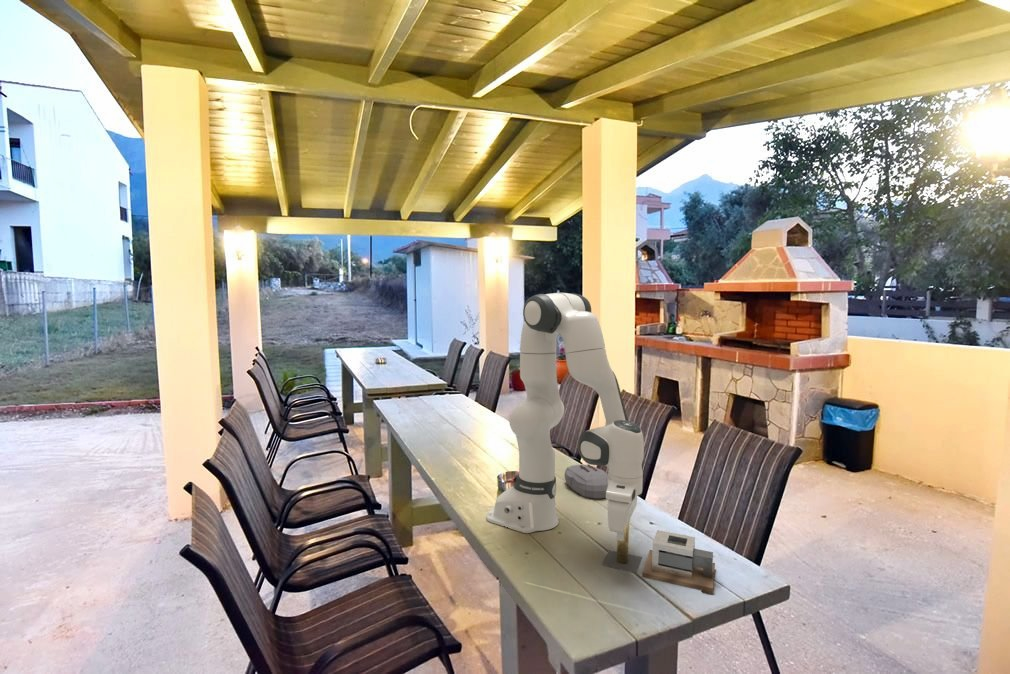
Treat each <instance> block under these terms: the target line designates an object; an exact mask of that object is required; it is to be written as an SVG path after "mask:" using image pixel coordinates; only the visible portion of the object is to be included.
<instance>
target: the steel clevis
mask: <svg viewBox="0 0 1010 674" xmlns="http://www.w3.org/2000/svg"><path fill="white" fill-rule="evenodd" d="M695 544H696V537H695V536H691V535H686V534H680V533H674V532H670V531H665V530H664V531H663V530H659V529H657V530H656V531H655V534H654V539H653V542H652V550H653V551H652V570H656V571H660V572H665V573H670V574H674V575H679V576H683V577H688V578H692V572H693V566H694V567H699V568H703V576H704V577H709V578H712V565H713V563H714V560H713V559H714V552H713V551H710V550H703V549H698V548H696V545H695Z"/></svg>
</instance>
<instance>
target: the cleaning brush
mask: <svg viewBox="0 0 1010 674" xmlns="http://www.w3.org/2000/svg"><path fill="white" fill-rule="evenodd" d="M564 480H565V482H566V484H567V486H568V487H569V488H570V489H572V490H573V492H575V493H577V494H578V493H579V495H580V496H582V497H585V498H589V499H604V498H605V499H606V490H607V486H608V472H606V471H605V470H603V469H602V468H598V467H596V466H594V465H591V464H588V463H587V464H575V465H570V466H568V467H566V469H565V471H564Z"/></svg>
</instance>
